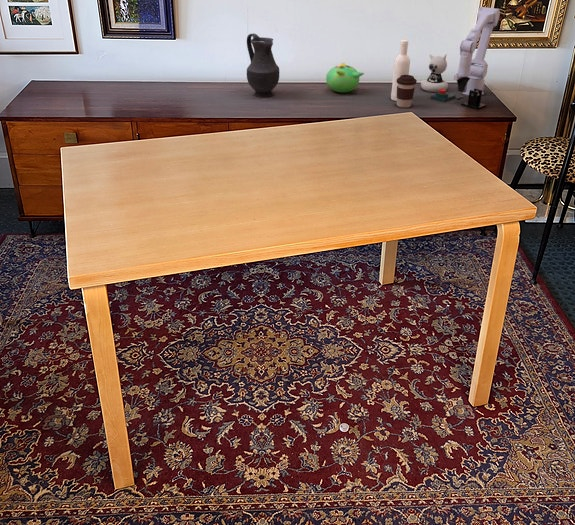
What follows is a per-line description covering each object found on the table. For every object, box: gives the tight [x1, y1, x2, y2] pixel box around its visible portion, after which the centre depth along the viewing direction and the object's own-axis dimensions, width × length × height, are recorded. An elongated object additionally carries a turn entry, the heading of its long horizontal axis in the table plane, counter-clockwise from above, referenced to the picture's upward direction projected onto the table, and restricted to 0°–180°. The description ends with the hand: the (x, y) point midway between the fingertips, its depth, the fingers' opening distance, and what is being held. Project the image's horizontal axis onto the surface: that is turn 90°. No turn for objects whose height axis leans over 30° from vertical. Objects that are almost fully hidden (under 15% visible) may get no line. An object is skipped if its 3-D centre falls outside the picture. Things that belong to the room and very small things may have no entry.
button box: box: [430, 91, 456, 103], centre depth 336 cm, size 11×8×4 cm
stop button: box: [439, 89, 447, 94], centre depth 334 cm, size 4×4×2 cm
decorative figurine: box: [420, 54, 449, 93], centre depth 346 cm, size 15×15×20 cm
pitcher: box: [246, 32, 280, 98], centre depth 331 cm, size 17×21×30 cm
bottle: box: [390, 39, 411, 102], centre depth 327 cm, size 8×8×30 cm
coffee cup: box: [396, 74, 418, 109], centre depth 321 cm, size 10×10×15 cm
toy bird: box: [325, 62, 365, 93], centre depth 341 cm, size 18×17×15 cm
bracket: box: [460, 89, 487, 111], centre depth 324 cm, size 10×8×8 cm
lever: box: [456, 91, 479, 101], centre depth 326 cm, size 11×6×2 cm, turn 43°
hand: (460, 91), depth 329 cm, fingers closed
